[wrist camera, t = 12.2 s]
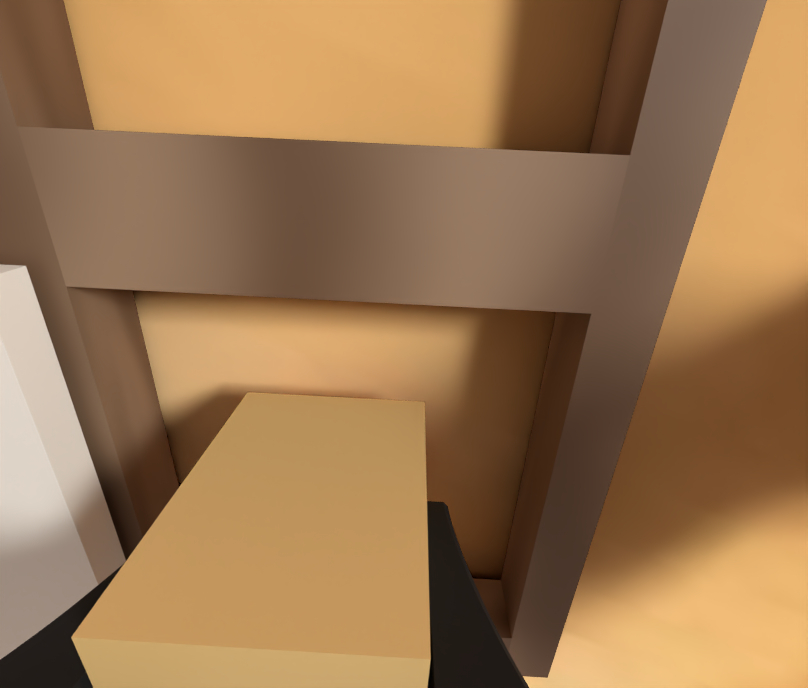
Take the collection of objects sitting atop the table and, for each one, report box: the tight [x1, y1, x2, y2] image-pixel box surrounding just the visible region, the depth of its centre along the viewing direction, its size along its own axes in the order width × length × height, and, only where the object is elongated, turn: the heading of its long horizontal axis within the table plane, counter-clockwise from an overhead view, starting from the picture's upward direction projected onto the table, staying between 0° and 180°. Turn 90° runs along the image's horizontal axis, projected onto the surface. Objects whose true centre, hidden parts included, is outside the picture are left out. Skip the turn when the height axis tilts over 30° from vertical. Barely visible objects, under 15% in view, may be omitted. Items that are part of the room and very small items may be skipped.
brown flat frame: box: [0, 0, 767, 678], centre depth 9 cm, size 26×29×2 cm
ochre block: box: [71, 392, 431, 688], centre depth 9 cm, size 4×4×6 cm
